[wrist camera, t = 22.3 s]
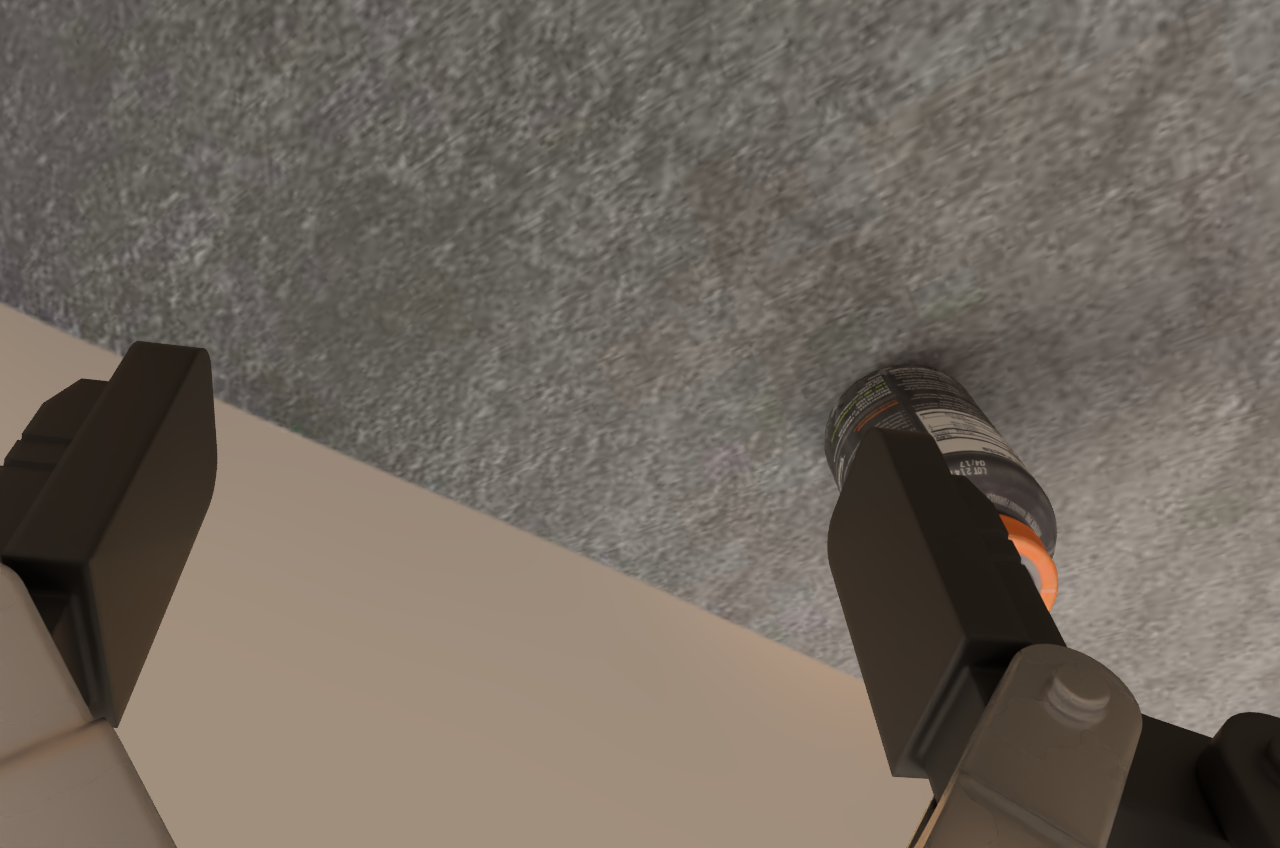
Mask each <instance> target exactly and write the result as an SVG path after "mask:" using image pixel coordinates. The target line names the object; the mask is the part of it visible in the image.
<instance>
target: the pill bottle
mask: <svg viewBox="0 0 1280 848" xmlns="http://www.w3.org/2000/svg"><path fill="white" fill-rule="evenodd" d="M870 427H882V428H891V429H900V430H908V431H917V432H926V433H929V434H931V435H932V436H933V437H934V439H935V441H936V443H937V445H938V447H939V449H940V451H941V453H942V455H943V457H944V459H945V462H946V464H947V466H948V468H949V470H950V472H951V474H955V475H964V476H966V477H967V478H968V479H969V480H970V481H971V482H972V483H973V484H974V485H975V486H976V487H977V488H978V489H979V490H980V491H981V492H982V493H983V494H984V495H985V496H986V497H987V498H988V499H989V500H990V501H991V502H992V503H993V504H994V506H995V508H996V509H997V511H998V513H999V515H1000V517H1001V519H1002V521H1003V523H1004V525H1005V527H1006V529H1007V531H1008V533H1009V536H1008V539H1009V540H1012V541H1013V543H1014V545H1015V547H1016V548H1017V550H1018V552H1019V554H1020V556H1021V558H1022V559H1021V564H1022V565H1025V566H1026V568H1027V570H1028V572H1029V574H1030V576H1031V578H1032V580H1033V582H1034V584H1035V586H1036V587H1037V589H1038V591H1039V593H1040V595H1041V597H1042V599H1043V601H1044V603H1045V605H1046V607H1047V609H1048V611H1049V612H1050V610H1051V608H1052V606H1053V604H1054V602H1055V599H1056V596H1057V591H1058V576H1057V570H1056V567H1055V564H1054V562H1053V560H1052V557H1053V554H1054V551H1055V546H1056V538H1057V528H1056V519H1055V515H1054V511H1053V508H1052V506H1051V503H1050V501H1049V499H1048V497H1047V496H1046V494H1045V493H1044V491H1043V489H1042V488H1041V487H1040V485H1039V484H1038V483H1037V481H1036V480H1035V479H1034V478H1033V476H1032V475H1031V474H1030V472H1029V471H1028V470H1027V468H1026V467H1025V466H1024V464H1023V463H1022V462H1021V460H1020V459H1019V458H1018V457H1017V455H1016V454H1015V453H1014V452H1013V450H1012V449H1011V448H1010V446H1009V445H1008V444H1007V443H1006V441H1005V440H1004V439H1003V438H1002V436H1001V435H1000V434H999V432H998V431H997V430H996V428H995V427H994V426H993V425H992V424H991V422H990V421H989V420H988V418H987V417H986V416H985V415H984V413H983V412H982V411H981V409H980V408H979V407H978V405H977V404H976V403H975V402H974V400H973V399H972V398H971V396H970V395H969V394H968V393H967V391H966V390H965V389H964V388H963V387H962V386H961V385H960V384H959V383H958V382H957V381H955V380H954V379H953V378H951V377H950V376H948V375H946V374H945V373H943V372H941V371H939V370H936V369H933V368H930V367H925V366H920V365H899V366H892V367H889V368H885V369H881V370H878V371H876V372H873V373H872V374H870V375H868V376H866V377H864V378H862V379H861V380H859V381H858V382H856V383H855V384H854V385H853V386H851V387H850V388H849V389H848V390H847V391H846V392H845V393H844V394H843V395H842V396H841V398H840V399H839V400H838V402H837V403H836V405H835V406H834V408H833V409H832V411H831V413H830V418H829V421H828V423H827V426H826V431H825V454H826V458H827V461H828V465H829V468H830V470H831V472H832V474H833V477H834V480H835V482H836V484H837V487H838V490H839V492H840V493H841V491H842V488H843V486H844V483H845V480H846V478H847V475H848V472H849V470H850V467H851V465H852V462H853V459H854V457H855V454H856V452H857V449H858V446H859V444H860V441H861V439H862V437H863V435H864V433H865V432H866V431H867V430H868V429H869V428H870Z"/></svg>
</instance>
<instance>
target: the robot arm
mask: <svg viewBox="0 0 1280 848" xmlns="http://www.w3.org/2000/svg"><path fill="white" fill-rule="evenodd" d="M214 415H215V414H214V400H213V386H212V372H211V362H210V357H209V354H208V352H207V350H206V349H204V348H195V347H187V346H178V345H169V344H160V343H152V342H143V341H136V342H135V343H133V344H132V346H131V347H130V348H129V350H128V352H127V353H126V355H125V356H124V358H123V360H122V361H121V363H120V365H119V366H118V368H117V369H116V371H115V372H114V374H113V376H112V377H111V379H110V380H109V381H100V380H90V379H80V380H78V381H77V382H75V383H74V384H72V385H71V386H69V387H68V388H66V389H64V390H63V391H61V392H60V393H58V394H57V395H55V396H54V397H52V398H51V399H49V400H47V401H46V402H44V403H43V404H42V406H41V407H40V408H39V410H38V411H37V413H36V414H35V416H34V417H33V419H32V420H31V421H30V423H29V424H28V426H27V427H26V429H25V430H24V431H23V433H22V439H21V440H17V442H16V443H15V444H14V446H13V447H12V449H11V450H10V452H9V453H8V455H7V456H6V458H5V459H4V465H3V466H0V848H177V847H176V845H175V843H174V841H173V839H172V837H171V835H170V834H169V832H168V830H167V828H166V826H165V824H164V822H163V820H162V818H161V817H160V815H159V813H158V811H157V809H156V807H155V805H154V803H153V801H152V800H151V798H150V796H149V794H148V792H147V790H146V788H145V786H144V784H143V782H142V780H141V779H140V777H139V775H138V773H137V771H136V769H135V767H134V765H133V764H132V761H131V760H130V758H129V756H128V754H127V752H126V750H125V748H124V746H123V744H122V743H121V741H120V739H119V737H118V735H117V733H116V732H115V730H114V728H118V725H119V723H120V721H121V718H122V716H123V713H124V711H125V709H126V706H127V703H128V701H129V699H130V696H131V694H132V692H133V689H134V687H135V684H136V682H137V679H138V677H139V675H140V672H141V670H142V667H143V665H144V663H145V660H146V658H147V655H148V653H149V650H150V648H151V645H152V643H153V641H154V638H155V636H156V633H157V631H158V629H159V626H160V624H161V621H162V619H163V617H164V614H165V612H166V609H167V607H168V604H169V602H170V600H171V597H172V595H173V592H174V590H175V587H176V585H177V583H178V580H179V578H180V575H181V573H182V571H183V568H184V566H185V563H186V561H187V558H188V556H189V554H190V551H191V549H192V546H193V544H194V541H195V539H196V537H197V534H198V532H199V529H200V527H201V525H202V522H203V520H204V517H205V515H206V513H207V510H208V507H209V505H210V502H211V499H212V495H213V491H214V486H215V479H216V471H217V444H216V429H215V416H214ZM1008 536H1009V533H1008V531H1007V529H1006V527H1005V525H1004V523H1003V521H1002V519H1001V517H1000V515H999V513H998V511H997V509H996V508H995V506H994V504H993V503H992V502H991V501H990V500H989V499H988V498H987V497H986V496H985V495H984V494H983V493H982V492H981V491H980V490H979V489H978V488H977V487H976V486H975V485H974V484H973V483H972V482H971V481H970V480H969V479H968V478H967V477H966V476H964V475H955V474H951V472H950V470H949V468H948V466H947V464H946V462H945V459H944V457H943V455H942V453H941V451H940V449H939V447H938V445H937V443H936V441H935V439H934V437H933V436H932V435H931V434H929V433H926V432H917V431H908V430H900V429H891V428H882V427H870V428H869V429H868V430H867V431H866V432H865V433H864V435H863V437H862V439H861V441H860V444H859V446H858V449H857V452H856V454H855V457H854V459H853V462H852V465H851V467H850V470H849V472H848V475H847V478H846V480H845V483H844V486H843V488H842V491H841V493H840V496H839V499H838V501H837V504H836V507H835V509H834V512H833V515H832V518H831V521H830V526H829V532H828V559H829V564H830V568H831V572H832V575H833V578H834V582H835V585H836V588H837V592H838V595H839V599H840V602H841V605H842V609H843V612H844V615H845V619H846V622H847V626H848V629H849V632H850V636H851V639H852V642H853V646H854V649H855V652H856V656H857V659H858V663H859V666H860V669H861V673H862V676H863V679H864V683H865V686H866V689H867V693H868V696H869V700H870V703H871V706H872V709H873V713H874V716H875V720H876V723H877V726H878V730H879V733H880V736H881V740H882V743H883V746H884V750H885V753H886V757H887V760H888V763H889V767H890V770H891V774H892V776H893V777H908V778H925V779H929V781H930V785H931V787H932V791H933V793H934V796H933V798H932V800H931V801H930V803H929V805H928V807H927V808H926V810H925V812H924V814H923V816H922V818H921V820H920V822H919V824H918V826H917V828H916V830H915V831H914V833H913V836H912V838H911V839H910V842H909V843H908V845H907V847H906V848H1280V718H1278V717H1275V716H1271V715H1268V714H1263V713H1255V712H1246V713H1239V714H1237V715H1234V716H1232V717H1231V718H1229V719H1228V720H1227V721H1226V722H1225V723H1224V725H1223V726H1222V727H1221V728H1220V730H1219V731H1218V732H1217V733H1216V735H1215V736H1214V737H1213V738H1211V737H1208V736H1205V735H1202V734H1199V733H1196V732H1193V731H1190V730H1187V729H1184V728H1181V727H1178V726H1175V725H1172V724H1169V723H1166V722H1163V721H1161V720H1158V719H1155V718H1152V717H1149V716H1146V715H1144V714H1141V711H1140V708H1139V705H1138V703H1137V701H1136V700H1135V698H1134V696H1133V694H1132V693H1131V692H1130V690H1129V689H1128V687H1127V686H1126V685H1125V684H1124V683H1123V682H1122V681H1121V680H1120V678H1118V677H1117V676H1116V675H1115V674H1114V673H1113V672H1112V671H1111V670H1109V669H1108V668H1107V667H1105V666H1104V665H1103V664H1101V663H1100V662H1098V661H1096V660H1095V659H1093V658H1091V657H1090V656H1087V655H1085V654H1083V653H1081V652H1079V651H1076V650H1073V649H1071V648H1068V647H1067V646H1066V644H1065V642H1064V640H1063V638H1062V636H1061V634H1060V632H1059V630H1058V628H1057V627H1056V625H1055V623H1054V621H1053V619H1052V617H1051V615H1050V613H1049V611H1048V609H1047V607H1046V605H1045V603H1044V601H1043V599H1042V597H1041V595H1040V593H1039V591H1038V589H1037V587H1036V586H1035V584H1034V582H1033V580H1032V578H1031V576H1030V574H1029V572H1028V570H1027V568H1026V566H1025V565H1022V564H1021V559H1022V558H1021V556H1020V554H1019V552H1018V550H1017V548H1016V547H1015V545H1014V543H1013V541H1012V540H1009V539H1008Z"/></svg>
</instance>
